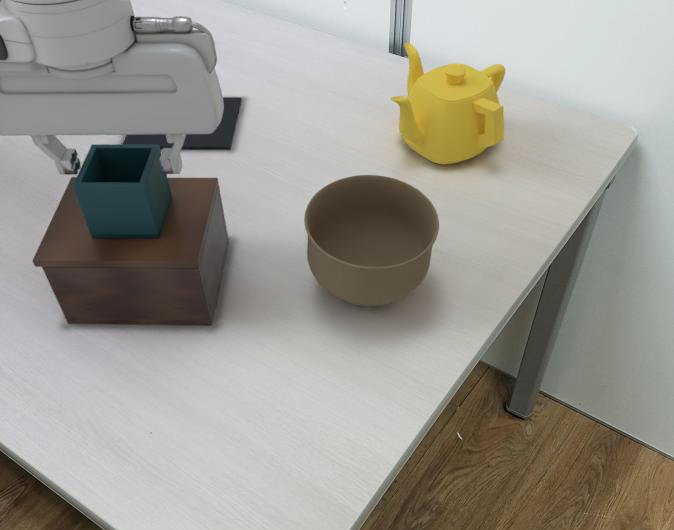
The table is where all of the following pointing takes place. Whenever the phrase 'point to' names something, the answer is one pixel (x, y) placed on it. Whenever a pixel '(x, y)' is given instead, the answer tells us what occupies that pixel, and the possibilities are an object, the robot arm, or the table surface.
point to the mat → (212, 141)
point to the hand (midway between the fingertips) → (122, 170)
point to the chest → (146, 287)
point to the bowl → (370, 238)
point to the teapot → (450, 110)
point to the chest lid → (166, 252)
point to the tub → (123, 191)
